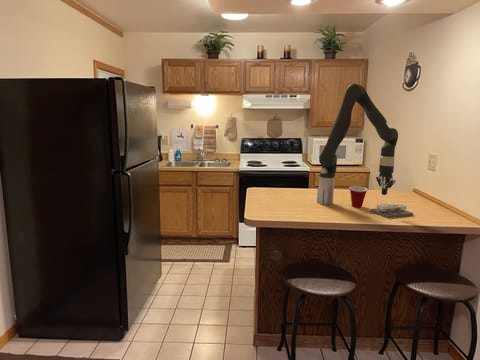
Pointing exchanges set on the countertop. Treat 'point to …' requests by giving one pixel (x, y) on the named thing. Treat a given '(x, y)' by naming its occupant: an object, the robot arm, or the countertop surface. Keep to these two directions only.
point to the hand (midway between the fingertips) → (384, 194)
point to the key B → (392, 205)
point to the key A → (382, 207)
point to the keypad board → (391, 213)
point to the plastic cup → (357, 195)
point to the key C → (402, 207)
